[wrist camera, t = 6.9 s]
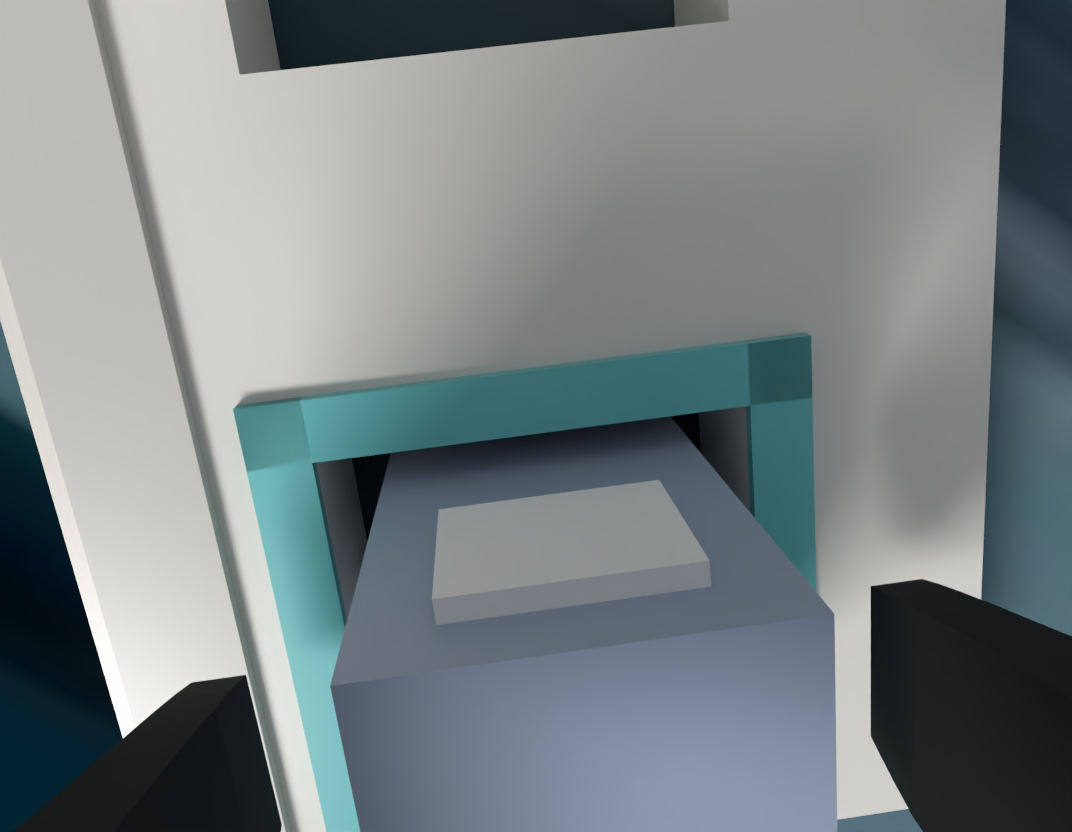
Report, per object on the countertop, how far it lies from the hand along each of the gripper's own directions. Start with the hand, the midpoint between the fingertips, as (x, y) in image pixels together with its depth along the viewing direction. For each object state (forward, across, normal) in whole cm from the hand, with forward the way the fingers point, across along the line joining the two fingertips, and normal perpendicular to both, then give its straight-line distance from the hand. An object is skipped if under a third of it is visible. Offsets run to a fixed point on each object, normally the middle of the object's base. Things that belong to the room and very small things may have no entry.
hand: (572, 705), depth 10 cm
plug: (+4, 0, 0) cm, 5 cm away
